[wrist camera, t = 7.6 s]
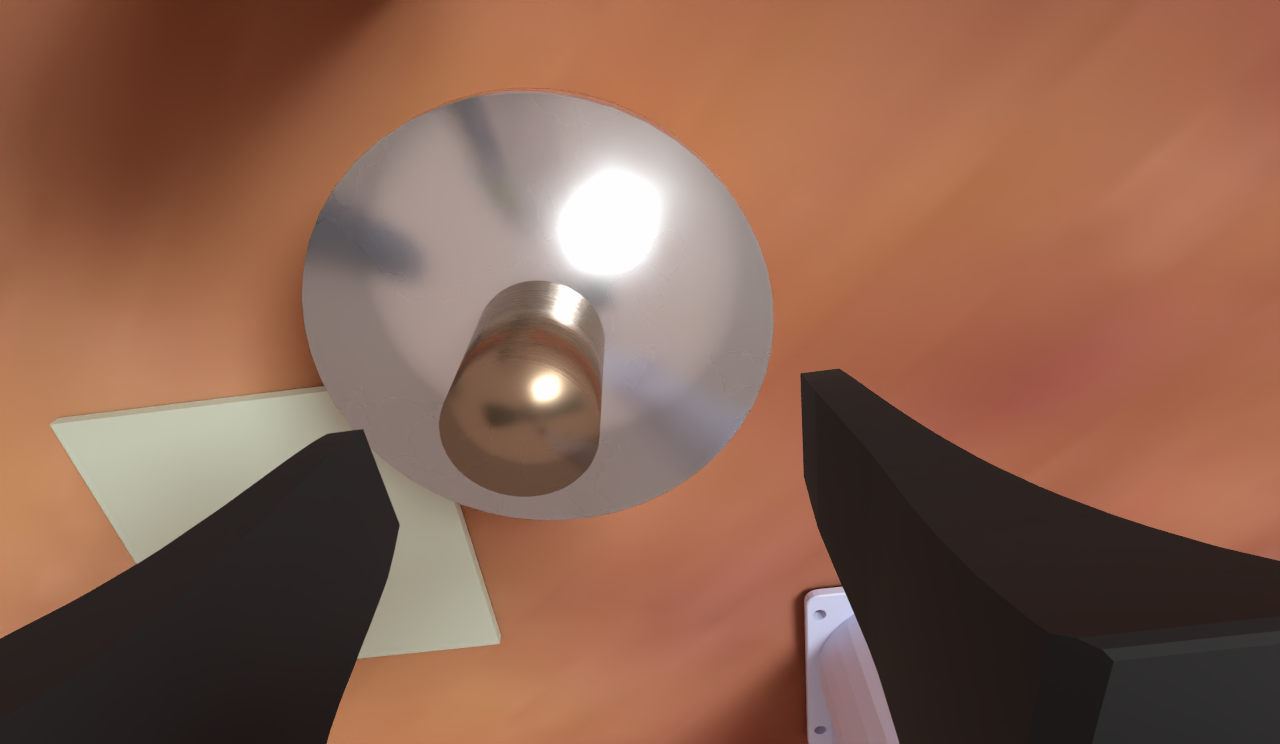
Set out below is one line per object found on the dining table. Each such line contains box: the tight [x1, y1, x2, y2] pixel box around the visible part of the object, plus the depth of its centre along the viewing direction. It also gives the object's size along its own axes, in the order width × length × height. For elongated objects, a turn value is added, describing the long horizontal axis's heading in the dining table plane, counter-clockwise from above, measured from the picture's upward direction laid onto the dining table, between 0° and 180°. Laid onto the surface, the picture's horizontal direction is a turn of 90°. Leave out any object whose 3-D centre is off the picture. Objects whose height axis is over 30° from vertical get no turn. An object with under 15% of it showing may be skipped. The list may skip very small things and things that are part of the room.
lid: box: [302, 88, 774, 520], centre depth 16 cm, size 11×11×5 cm
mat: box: [50, 386, 501, 659], centre depth 26 cm, size 12×12×1 cm
